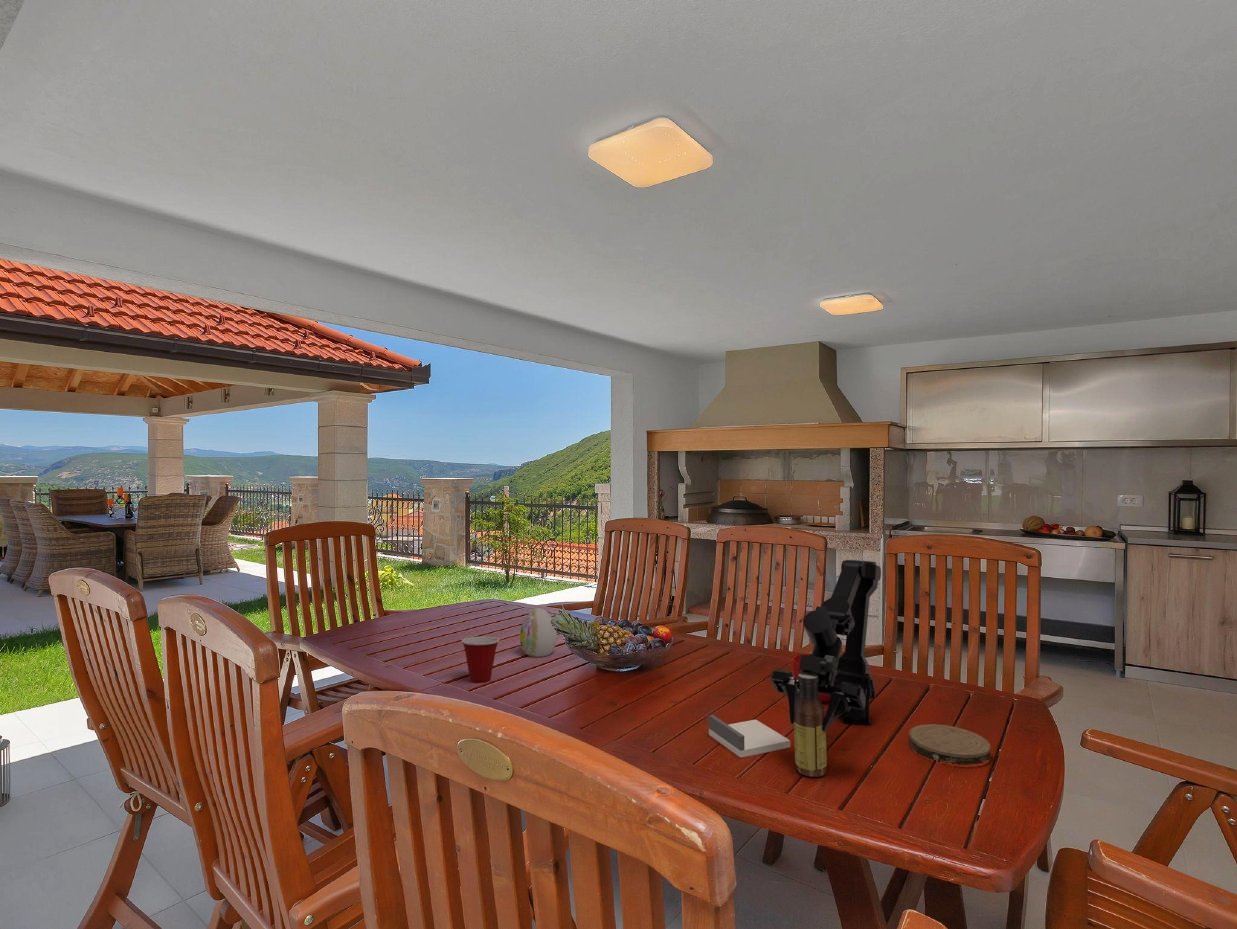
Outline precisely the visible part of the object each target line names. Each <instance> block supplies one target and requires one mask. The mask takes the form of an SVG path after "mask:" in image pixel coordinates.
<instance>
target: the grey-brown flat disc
mask: <svg viewBox="0 0 1237 929" xmlns="http://www.w3.org/2000/svg"><path fill="white" fill-rule="evenodd" d="M908 732H909V733H908V746H909V745H910V746H911V748H910V750H911V749H913V750H914V751H915V752H917V753H918V754H920V755H922V756H924V757H927V758H929V759H932V760H936V761H938V762H945V763H952V764H959V765H960V764H961V765H962V764H963V765H970V764H979V763H983V762H986V761H987V760H989V759H990V760H991V744H990V742H989V741H988V740H987V739H986V738H984V737H983V736H982V735H980V734H979V733H978V734H977V733H976V732H973V731H970V730H968V729H964V728H961V727H957V726H952V725H945V724H935V723H931V724H921V725H916V726H913V727H912V728H910V729H909V731H908Z"/></svg>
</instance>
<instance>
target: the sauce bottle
mask: <svg viewBox="0 0 1237 929" xmlns="http://www.w3.org/2000/svg"><path fill="white" fill-rule="evenodd" d="M798 682H799V692H798V694H799V697H798V700H797V702H796V704H795V709H794V724H793V728H794V729H793V730H794V731H793V732H794V734H793V735H794V737H793V738H794V740H793V741H794V762H795V766H796V767H795V768H796V770H797V771H798V773H799V774H801V775H803V776H806V777H812V778H820V777H823V776H825V775H826V774H827V763H828V761H827V759H828V758H827V757H828V756H827V755H828V754H827V735H826V734H827V733H826V732H827V730H826V731H825V732H824V731H823V730H822V727H823V722H824V719H825V715H826V712H825V706H824V704H823V702H821V700H820V698H819V697H818V696H819V694H818V682H819V678H818V675H817V674H815V673H811V672H802V673H799V674H798Z"/></svg>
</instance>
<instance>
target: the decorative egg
mask: <svg viewBox="0 0 1237 929" xmlns="http://www.w3.org/2000/svg"><path fill="white" fill-rule="evenodd" d="M552 619H553V616H552V615H550V613H549V612H548V611H547V610H545V609H543V608H541V607H538V608H534V609H532V610H530V612H529V613H528V614H527V615H526V616H525V618H524V619H523V622H522V623H521V627H520V630H519V631H520V632H519V642H520V646H521V649H522V651H523V652H524V654H525V655H526V656H528V657H533V658H542V657H546V656H547V657H548V656H550V655H551V654H552V652H553V651H554V649H555V647H556V645H557V642H558V632H557V631H556V630H557V629H556V630H555V629H554V627H553V626H552V625H551V620H552Z"/></svg>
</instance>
